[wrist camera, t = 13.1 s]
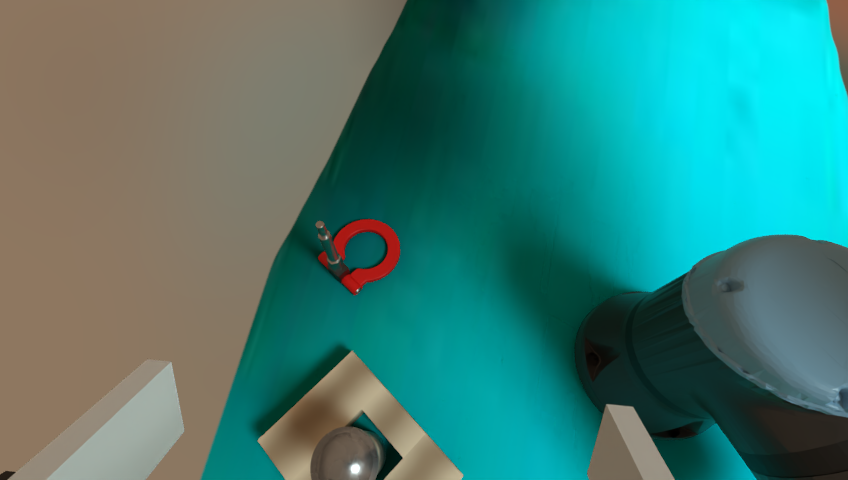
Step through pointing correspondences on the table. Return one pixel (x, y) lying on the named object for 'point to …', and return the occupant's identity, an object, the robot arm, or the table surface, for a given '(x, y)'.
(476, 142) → the table surface
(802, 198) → the table surface
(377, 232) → the tow hook
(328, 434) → the domed cap cylinder
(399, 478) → the jig
